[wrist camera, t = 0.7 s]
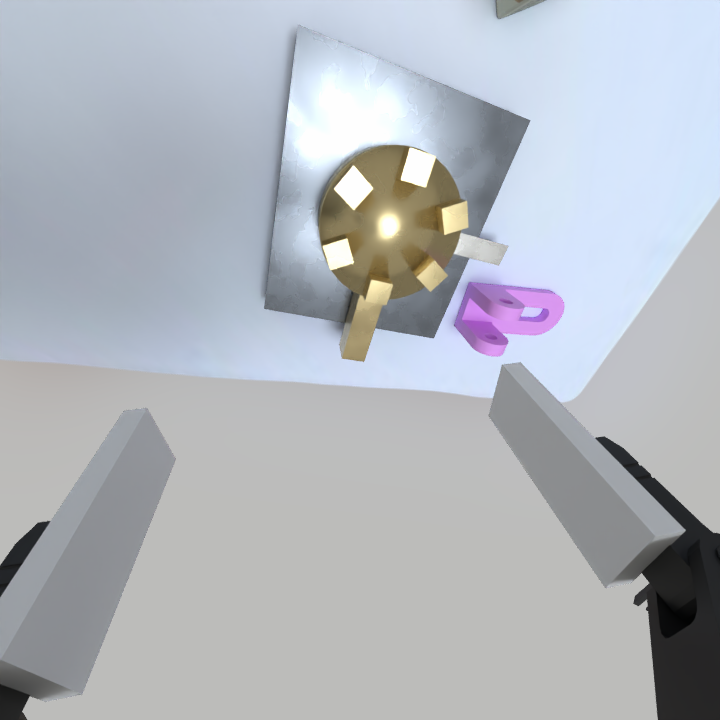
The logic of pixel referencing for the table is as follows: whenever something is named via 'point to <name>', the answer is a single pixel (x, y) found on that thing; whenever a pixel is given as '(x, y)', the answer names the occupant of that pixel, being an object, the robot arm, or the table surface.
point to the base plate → (368, 129)
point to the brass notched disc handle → (387, 232)
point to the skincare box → (513, 6)
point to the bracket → (504, 315)
